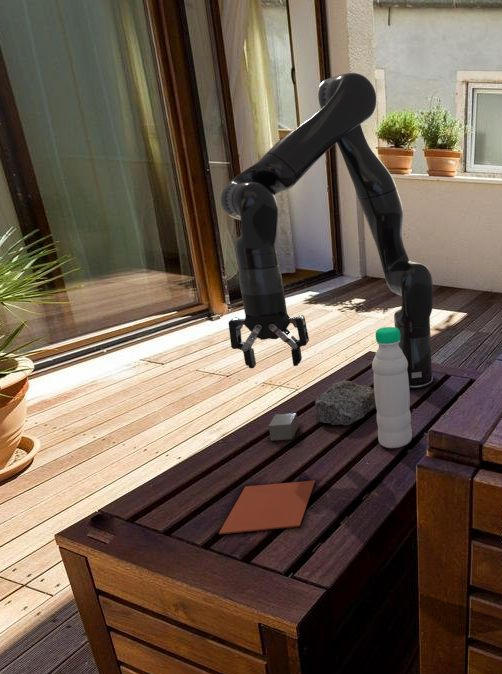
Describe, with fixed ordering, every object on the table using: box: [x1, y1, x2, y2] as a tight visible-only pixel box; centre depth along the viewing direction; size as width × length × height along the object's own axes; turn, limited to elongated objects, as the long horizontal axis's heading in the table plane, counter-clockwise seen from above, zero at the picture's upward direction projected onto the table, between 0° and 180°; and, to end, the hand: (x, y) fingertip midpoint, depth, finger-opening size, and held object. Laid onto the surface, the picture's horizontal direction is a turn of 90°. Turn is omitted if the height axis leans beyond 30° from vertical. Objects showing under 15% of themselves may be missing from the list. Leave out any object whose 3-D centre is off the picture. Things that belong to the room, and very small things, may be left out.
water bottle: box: [371, 326, 413, 449], centre depth 96 cm, size 7×7×25 cm
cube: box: [268, 412, 299, 442], centre depth 102 cm, size 5×4×4 cm
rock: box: [314, 379, 376, 426], centre depth 111 cm, size 13×6×15 cm
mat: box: [218, 480, 316, 535], centre depth 80 cm, size 12×12×1 cm
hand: (274, 365), depth 97 cm, fingers open, 8 cm apart
